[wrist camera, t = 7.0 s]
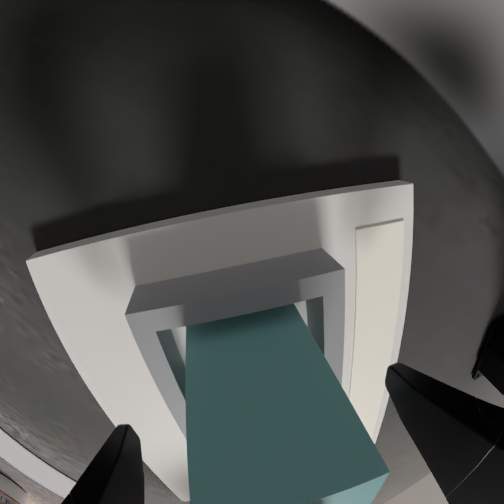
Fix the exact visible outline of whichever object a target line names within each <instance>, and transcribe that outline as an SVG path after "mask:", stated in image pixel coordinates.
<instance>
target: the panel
mask: <svg viewBox="0 0 504 504" xmlns="http://www.w3.org/2000/svg"><path fill="white" fill-rule="evenodd" d="M412 239H413V184H412V183H409V182H405V181H401V180H396V181H387V182H379V183H372V184H364V185H357V186H349V187H342V188H336V189H329V190H322V191H316V192H309V193H303V194H297V195H291V196H285V197H279V198H273V199H267V200H262V201H256V202H251V203H245V204H240V205H234V206H229V207H224V208H219V209H214V210H209V211H204V212H199V213H194V214H189V215H185V216H180V217H175V218H170V219H166V220H161V221H157V222H152V223H148V224H144V225H139V226H135V227H131V228H126V229H122V230H118V231H114V232H110V233H106V234H102V235H98V236H94V237H90V238H86V239H82V240H78V241H75V242H71V243H67V244H63V245H60V246H56V247H52V248H49V249H45V250H42V251H38V252H36V253H34V254H33V255H32V256H31V257H30V258H28V259H27V260H26V263H27V266H28V269H29V271H30V274H31V277H32V279H33V282H34V284H35V287H36V289H37V291H38V294H39V296H40V298H41V301H42V303H43V305H44V307H45V310H46V312H47V314H48V316H49V318H50V320H51V322H52V324H53V326H54V328H55V330H56V332H57V334H58V336H59V338H60V340H61V342H62V344H63V346H64V348H65V349H66V351H67V353H68V355H69V357H70V358H71V360H72V362H73V364H74V365H75V367H76V369H77V370H78V372H79V374H80V375H81V377H82V379H83V380H84V382H85V383H86V385H87V386H88V388H89V390H90V391H91V393H92V394H93V396H94V397H95V399H96V400H97V402H98V403H99V405H100V406H101V407H102V409H103V410H104V412H105V413H106V414H107V416H108V417H109V419H110V420H111V421H112V423H113V424H114V425H115V427H117V426H118V425H119V424H129V425H131V426H132V428H133V429H134V431H135V432H136V433H137V435H138V436H139V438H140V441H141V451H142V460H143V461H144V462H145V463H146V464H147V465H148V467H149V468H150V469H151V470H152V471H153V472H154V473H155V474H156V475H157V476H158V477H159V478H160V479H161V480H162V481H163V483H164V484H165V485H166V486H167V487H168V488H169V489H170V490H171V491H172V492H173V493H174V494H176V495H177V496H178V497H179V498H180V499H181V500H182V501H183V502H184V501H190V494H189V480H188V463H187V441H186V401H185V358H186V326H190V325H195V324H200V323H205V322H211V321H216V320H221V319H225V318H230V317H235V316H240V315H245V314H249V313H254V312H258V311H263V310H267V309H272V308H276V307H280V306H285V305H289V304H293V303H294V305H295V306H296V308H297V310H298V312H299V313H300V315H301V317H302V318H303V320H304V322H305V324H306V325H307V327H308V329H309V330H310V332H311V334H312V336H313V337H314V339H315V341H316V343H317V344H318V346H319V348H320V350H321V351H322V353H323V355H324V356H325V358H326V360H327V362H328V363H329V365H330V367H331V369H332V370H333V372H334V374H335V376H336V377H337V379H338V381H339V383H340V384H341V386H342V388H343V390H344V391H345V393H346V395H347V397H348V398H349V400H350V402H351V404H352V405H353V407H354V409H355V411H356V412H357V414H358V416H359V418H360V420H361V421H362V423H363V425H364V427H365V428H366V430H367V432H368V434H369V435H370V437H371V439H372V441H373V443H374V444H375V443H376V439H377V436H378V433H379V430H380V427H381V423H382V420H383V417H384V413H385V410H386V406H387V402H388V398H389V393H388V391H387V389H386V386H385V378H386V373H387V368H388V366H389V365H392V364H394V363H397V360H398V355H399V349H400V344H401V338H402V333H403V326H404V320H405V313H406V306H407V298H408V289H409V280H410V269H411V256H412Z"/></svg>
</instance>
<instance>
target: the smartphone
mask: <svg viewBox="0 0 504 504" xmlns="http://www.w3.org/2000/svg"><path fill="white" fill-rule="evenodd" d="M0 457H1V458H3V459H4V460H5V461H7V462H8V463H9V464H11V465H12V466H14V467H15V468H16V469H18V470H19V471H21V472H22V473H24V474H25V475H27V476H28V477H30V478H31V479H33V480H34V481H36V482H37V483H39V484H41V485H42V486H44V487H45V488H47V489H49V490H51V491H52V492H54V493H56V494H58V495H59V496H61V497H63V498H66V496H67V495H68V494H70V491H71V490H72V488H73V487H74V485H75V484H76V482H77V481H75V480H73V479H72V478H70V477H68V476H67V475H65V474H64V473H62V472H60V471H59V470H57V469H56V468H54V467H53V466H51V465H49V464H48V463H47V462H45V461H44V460H42V459H41V458H39V457H38V456H36V455H35V454H34V453H32V452H31V451H30V450H28V449H27V448H26V447H24V446H23V445H22V444H20V443H19V442H18V441H17V440H15V439H14V438H13V437H12V436H10V435H9V434H8V433H7V432H6V431H4V430H3V429H2V428H1V427H0Z"/></svg>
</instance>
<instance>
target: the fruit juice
mask: <svg viewBox="0 0 504 504" xmlns="http://www.w3.org/2000/svg"><path fill="white" fill-rule="evenodd" d="M27 502H28V497H27V494H26V493H25V492H24V491H23V490H22V489H21V488H20V487H19V486H18V485H16V484H15V483H14V482H12V481H11V480H9V479H8V478H7V477H5V476H4V475H2V474H1V473H0V504H27Z"/></svg>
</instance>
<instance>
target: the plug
mask: <svg viewBox="0 0 504 504" xmlns="http://www.w3.org/2000/svg"><path fill="white" fill-rule="evenodd" d="M185 401H186V441H187V463H188V480H189V494H190V504H371V503H372V502H373V500H374V498H375V497H376V495H377V493H378V492H379V490H380V488H381V487H382V485H383V483H384V481H385V480H386V478H387V476H388V474H389V472H390V471H389V469H388V468H387V466H386V464H385V462H384V460H383V459H382V457H381V455H380V453H379V451H378V450H377V448H376V446H375V444H374V443H373V441H372V439H371V437H370V435H369V434H368V432H367V430H366V428H365V427H364V425H363V423H362V421H361V420H360V418H359V416H358V414H357V412H356V411H355V409H354V407H353V405H352V404H351V402H350V400H349V398H348V397H347V395H346V393H345V391H344V390H343V388H342V386H341V384H340V383H339V381H338V379H337V377H336V376H335V374H334V372H333V370H332V369H331V367H330V365H329V363H328V362H327V360H326V358H325V356H324V355H323V353H322V351H321V350H320V348H319V346H318V344H317V343H316V341H315V339H314V337H313V336H312V334H311V332H310V330H309V329H308V327H307V325H306V324H305V322H304V320H303V318H302V317H301V315H300V313H299V312H298V310H297V308H296V306H295V305H294V303H293V304H289V305H285V306H280V307H276V308H272V309H267V310H263V311H258V312H254V313H249V314H245V315H240V316H235V317H230V318H225V319H221V320H216V321H211V322H205V323H200V324H195V325H190V326H186V358H185Z"/></svg>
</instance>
